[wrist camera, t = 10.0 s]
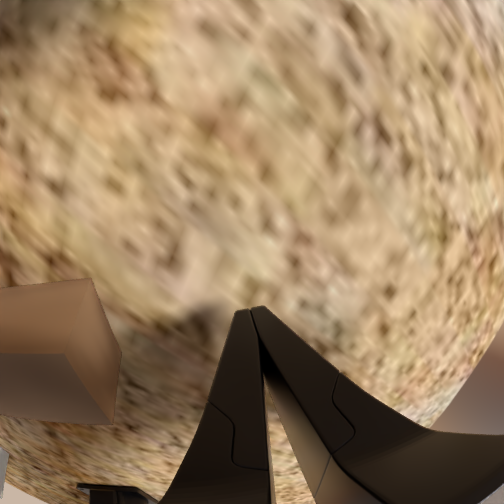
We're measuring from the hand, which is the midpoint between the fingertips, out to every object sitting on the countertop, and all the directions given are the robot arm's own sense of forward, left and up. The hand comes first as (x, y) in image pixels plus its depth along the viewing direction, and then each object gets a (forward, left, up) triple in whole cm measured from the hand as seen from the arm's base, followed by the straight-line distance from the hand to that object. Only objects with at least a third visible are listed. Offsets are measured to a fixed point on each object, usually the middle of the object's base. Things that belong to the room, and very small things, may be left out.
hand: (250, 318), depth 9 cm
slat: (0, +12, -2) cm, 12 cm away
